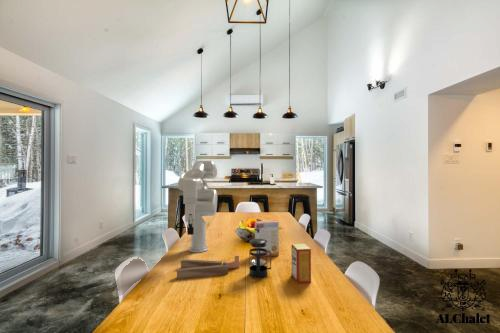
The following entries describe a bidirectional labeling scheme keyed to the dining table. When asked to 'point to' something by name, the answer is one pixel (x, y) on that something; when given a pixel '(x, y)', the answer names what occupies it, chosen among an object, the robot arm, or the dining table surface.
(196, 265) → the tongs jaw
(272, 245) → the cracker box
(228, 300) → the dining table surface
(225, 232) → the dining table surface
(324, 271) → the dining table surface
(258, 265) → the french press
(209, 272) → the tongs fixed jaw
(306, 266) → the baking soda box
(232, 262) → the tab
